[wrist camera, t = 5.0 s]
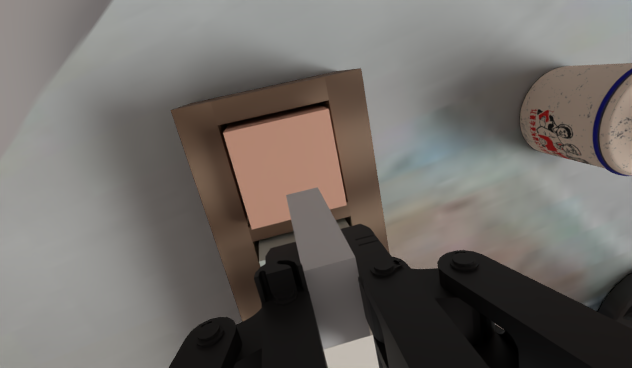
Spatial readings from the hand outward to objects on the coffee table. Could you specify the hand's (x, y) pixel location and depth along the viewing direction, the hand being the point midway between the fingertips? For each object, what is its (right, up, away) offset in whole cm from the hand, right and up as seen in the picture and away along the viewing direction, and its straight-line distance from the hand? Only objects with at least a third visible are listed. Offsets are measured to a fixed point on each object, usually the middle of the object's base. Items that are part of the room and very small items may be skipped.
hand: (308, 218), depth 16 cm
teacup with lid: (+26, +8, +19) cm, 33 cm away
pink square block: (-2, +4, +12) cm, 13 cm away
